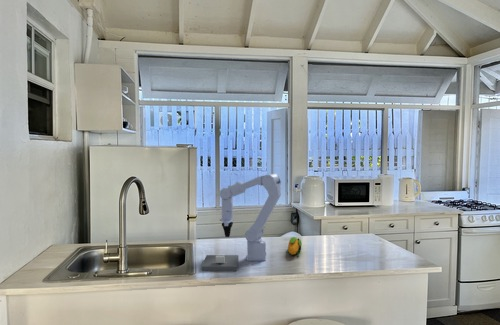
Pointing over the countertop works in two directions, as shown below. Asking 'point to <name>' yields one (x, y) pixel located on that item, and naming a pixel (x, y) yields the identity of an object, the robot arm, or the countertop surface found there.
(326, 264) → the countertop surface
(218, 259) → the fader
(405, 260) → the countertop surface
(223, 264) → the panel
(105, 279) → the countertop surface
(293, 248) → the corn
